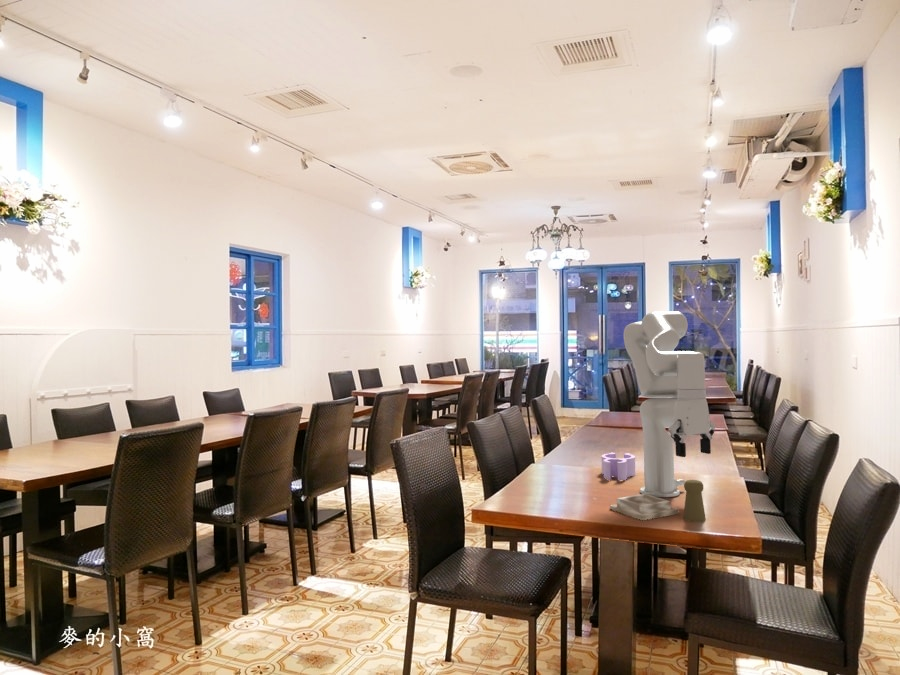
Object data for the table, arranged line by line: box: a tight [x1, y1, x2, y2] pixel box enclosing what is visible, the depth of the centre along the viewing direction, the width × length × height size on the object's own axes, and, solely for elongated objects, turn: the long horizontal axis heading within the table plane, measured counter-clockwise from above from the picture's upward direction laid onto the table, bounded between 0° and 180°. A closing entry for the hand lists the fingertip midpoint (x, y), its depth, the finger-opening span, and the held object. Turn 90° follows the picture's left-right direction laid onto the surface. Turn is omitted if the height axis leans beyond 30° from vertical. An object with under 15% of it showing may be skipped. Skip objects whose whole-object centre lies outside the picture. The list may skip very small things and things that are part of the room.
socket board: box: [609, 493, 679, 521], centre depth 192 cm, size 14×14×4 cm
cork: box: [682, 479, 707, 523], centre depth 183 cm, size 6×6×11 cm
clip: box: [601, 451, 636, 482], centre depth 242 cm, size 20×12×7 cm, turn 158°
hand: (693, 454), depth 183 cm, fingers open, 9 cm apart
